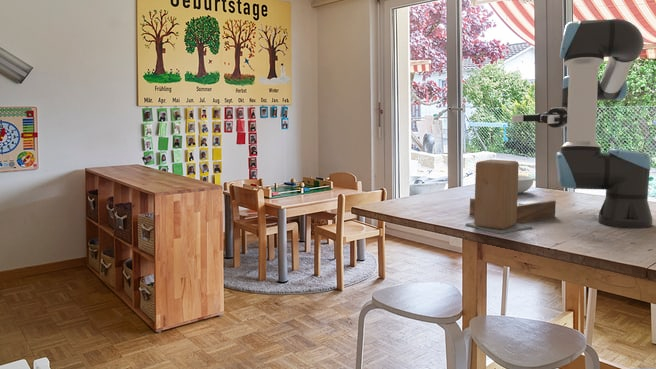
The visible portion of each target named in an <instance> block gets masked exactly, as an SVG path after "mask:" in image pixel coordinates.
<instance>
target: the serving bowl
mask: <svg viewBox="0 0 656 369" xmlns="http://www.w3.org/2000/svg"><path fill="white" fill-rule="evenodd" d="M534 180H535V178H534V177H532V176H529V175H528V176H527V175H520V174H518V193H517V195H518V194H520V193H524V192H526V191H528V190H529V189H530V188H531V187H532V186H533V183H534Z"/></svg>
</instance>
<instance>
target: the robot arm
mask: <svg viewBox="0 0 656 369" xmlns="http://www.w3.org/2000/svg"><path fill="white" fill-rule="evenodd" d="M564 26H565V27H564V29H563V30H564V31H563V35H562V39H561V46H560V51H559V59H562V60H564V61H563V64H564V66H565V67H567V68H568V75H567V76H564V77H563V79H562V87H561V105H560V107H559V106H558V107H552V108H550V109H549V110H547V111H546V112H541V113H535V114H512V115H511V123H512V124H514V123H515V124H516V123H517V124H522V123H525V122H536V123H539V124H540V123H541V124H546V125H547V126H549V127H550V128H555V129H556V128H560V129H564V128H566V141H565V143H563V145H561V147H560V151H558V152H556V153H555V165H556V166H555V167H556V175H557V176H556V177H557V181H558V184H559V186H561V188H564V189H572V190H573V189H574V190H605V198H604V201H603V203H602V205H601V208H600V210H599V212H598V216H597V222H598V223H600V224H602V225H605V226H606V225H607V226H611V227H618V228H627V229H644V228H645V229H646V228H650V227H652V226H653V221H654V220H653V216H652V211H651V209H650V205H649V202H648V197H649V196H648V195H649V186H650V185H649V184H650V183H649V182H650V171H651V157H650V155H648V154H647V153H645V152H641V151H635V150H629V149H622V148H613V147H612V148H609V149H608V150H607V152H601V150H602V148H601V146H600V144H598V142H596V141H597V113H598V111H597V109H598V101H617V100H618V101H622V100H625V98H626V96H627V92H628V90H627V89H628V83H627V81H626V78H627V76H628V74H629V72H630V70H631V67H632V66H633V63H634V61H637V59H638V58H640V56H641V54H642V52H643V51H644V43H645V42H644V37H643V35H642V34H643V33H642V32H641V30H640V29H639V28H638V27H637V26H636V25H634V24H633V23H632V22H631V21H628V20H625V19H622V18H621V19H620V18H612V19H591V20H589V19H586V20H583V19H581V20H577V21H569V22H567V23H566V24H565V25H564ZM605 58H608V60H607V62H606V65H605V68H604V71H603V73H602V76H601V79H598V78H599V68H600V67H601V65H602V64H603V63H604V61H605Z"/></svg>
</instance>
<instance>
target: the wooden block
mask: <svg viewBox="0 0 656 369" xmlns="http://www.w3.org/2000/svg"><path fill="white" fill-rule="evenodd" d="M519 167H520V166H519V162H518V161H516V160H505V159H504V160H503V159H487V160H480V161H477V162H476V164H475V183H474V184H475V185H474V186H475V187H474V198H475V211H474V215H473V217H474V220H473V222H474V224H475V225H476V226H480V227H486V228H493V229H500V230H503V229H506V228H508V227H511V226H513V225H515V224H516V218H517V205H518V194H519V193H518V175H519ZM517 193H518V194H517Z"/></svg>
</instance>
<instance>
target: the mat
mask: <svg viewBox="0 0 656 369" xmlns="http://www.w3.org/2000/svg"><path fill="white" fill-rule="evenodd" d="M466 226H467V227H471V228H475V229H479V230H482V231H483V230H484V231H487V232H491V233H495V234H499V235H502V234H508V233H513V232H519V231H524V230H530V229H533V226H532V225H528V224H523V223H516V224H515V225H513V226H511V227H508V228H506V229H503V230H500V229H493V228H486V227H480V226H476V225H475V224H474V221H473V222H467V223H465V227H466Z"/></svg>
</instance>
